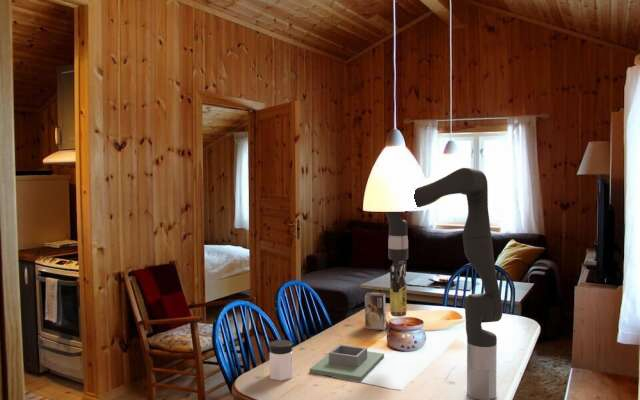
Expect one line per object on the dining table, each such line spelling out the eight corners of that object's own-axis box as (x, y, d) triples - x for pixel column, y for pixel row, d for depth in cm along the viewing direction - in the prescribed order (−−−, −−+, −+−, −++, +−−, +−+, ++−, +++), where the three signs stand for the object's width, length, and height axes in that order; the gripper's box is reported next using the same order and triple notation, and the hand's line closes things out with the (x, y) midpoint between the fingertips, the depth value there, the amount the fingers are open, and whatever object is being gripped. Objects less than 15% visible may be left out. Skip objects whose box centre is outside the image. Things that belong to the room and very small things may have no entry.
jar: (264, 377, 190) (263, 344, 189) (277, 370, 197) (276, 338, 196) (285, 382, 185) (284, 348, 185) (297, 374, 192) (297, 342, 192)
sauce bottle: (406, 317, 200) (405, 265, 199) (389, 317, 202) (389, 265, 201) (407, 313, 207) (406, 262, 206) (391, 312, 208) (390, 262, 207)
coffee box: (386, 326, 251) (386, 292, 250) (384, 330, 245) (384, 295, 244) (367, 325, 254) (367, 291, 253) (364, 328, 248) (364, 294, 247)
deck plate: (361, 381, 186) (361, 365, 185) (309, 372, 194) (309, 357, 194) (384, 357, 209) (383, 343, 209) (337, 350, 217) (337, 337, 217)
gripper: (402, 250, 195) (402, 295, 196) (412, 245, 208) (412, 287, 209) (382, 249, 198) (383, 293, 199) (394, 244, 211) (394, 285, 212)
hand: (398, 290), depth 204 cm, fingers closed on sauce bottle, 6 cm apart
